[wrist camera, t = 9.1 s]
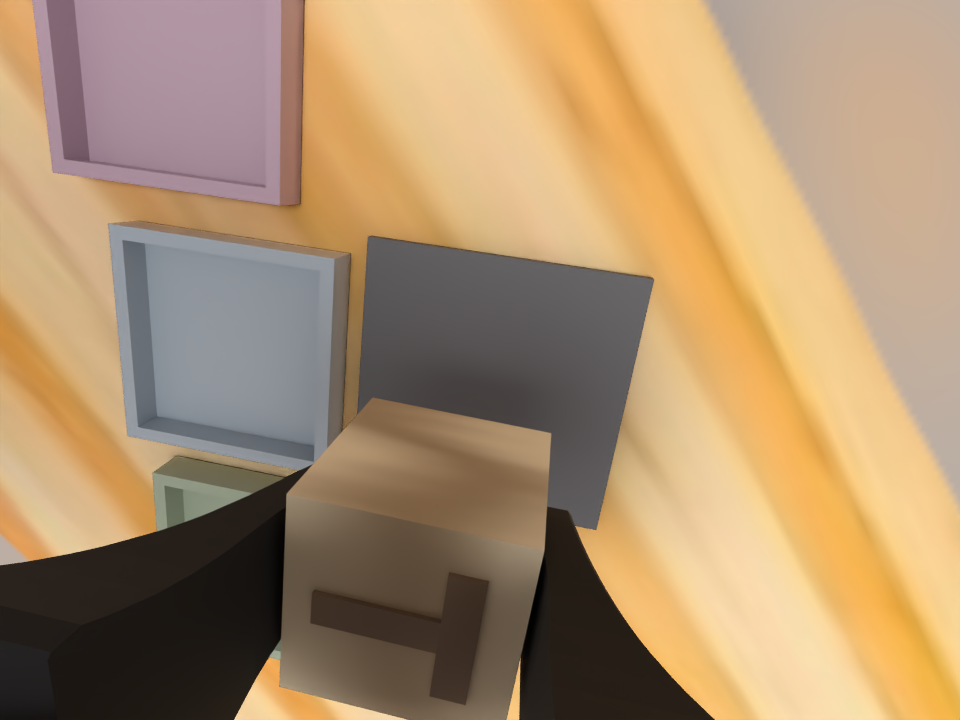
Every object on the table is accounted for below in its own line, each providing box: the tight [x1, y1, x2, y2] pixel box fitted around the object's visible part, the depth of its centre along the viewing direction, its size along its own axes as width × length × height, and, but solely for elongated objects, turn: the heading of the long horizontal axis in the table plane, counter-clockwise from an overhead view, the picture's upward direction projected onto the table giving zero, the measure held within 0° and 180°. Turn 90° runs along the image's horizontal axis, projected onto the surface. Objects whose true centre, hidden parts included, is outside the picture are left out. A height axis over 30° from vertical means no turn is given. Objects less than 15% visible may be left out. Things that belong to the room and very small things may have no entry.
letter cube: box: [279, 398, 551, 720], centre depth 12 cm, size 4×4×5 cm
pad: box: [357, 236, 654, 530], centre depth 21 cm, size 10×10×1 cm
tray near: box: [32, 0, 304, 206], centre depth 18 cm, size 8×8×2 cm
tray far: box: [153, 456, 284, 660], centre depth 24 cm, size 8×8×2 cm
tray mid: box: [108, 221, 351, 470], centre depth 21 cm, size 8×8×2 cm
